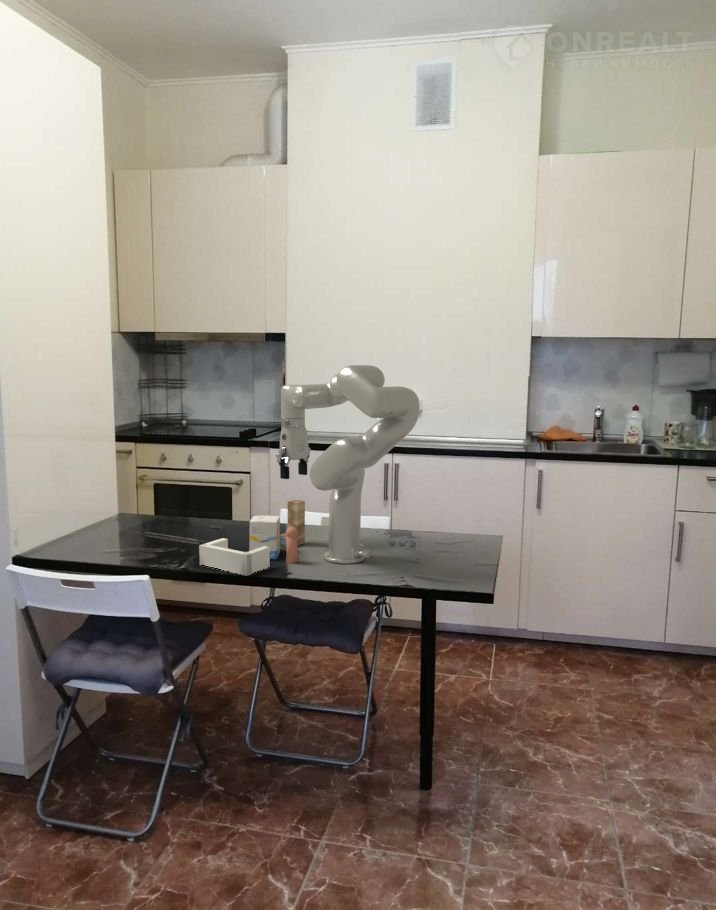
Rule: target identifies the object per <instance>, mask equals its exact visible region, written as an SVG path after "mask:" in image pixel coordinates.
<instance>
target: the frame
mask: <svg viewBox="0 0 716 910" xmlns="http://www.w3.org/2000/svg"><path fill="white" fill-rule="evenodd" d="M198 553H199V559H198V560H199V566H201V565H205V566H209V567H214V568H218V569H221V570H220V571H223V570H224V572H227V571H229V572H228V573H232V574H236V573H237V575H240V574H241V576H247V577H249V576H250V575H253V574H255V573H254V572H256V573H258V572H257V571H259V572H261V571H264V570H266V569H269V568H270V567H271V566H270V564H271V563H270V561H271V559H270V547H266V546H263V547H260V548H257V549H254V550H251V551H249V550H248V551H240V550H236V549H233V548H229V539H228V538H224V537H222V538H219V539H215V540H212V541H209V542H206V543H202V544H199V546H198ZM205 566H204V567H205ZM209 567H208V568H209ZM268 567H269V568H268ZM214 568H213V569H214ZM218 569H217V570H218ZM263 569H264V570H263ZM260 570H261V571H260ZM252 573H253V574H252Z"/></svg>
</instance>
